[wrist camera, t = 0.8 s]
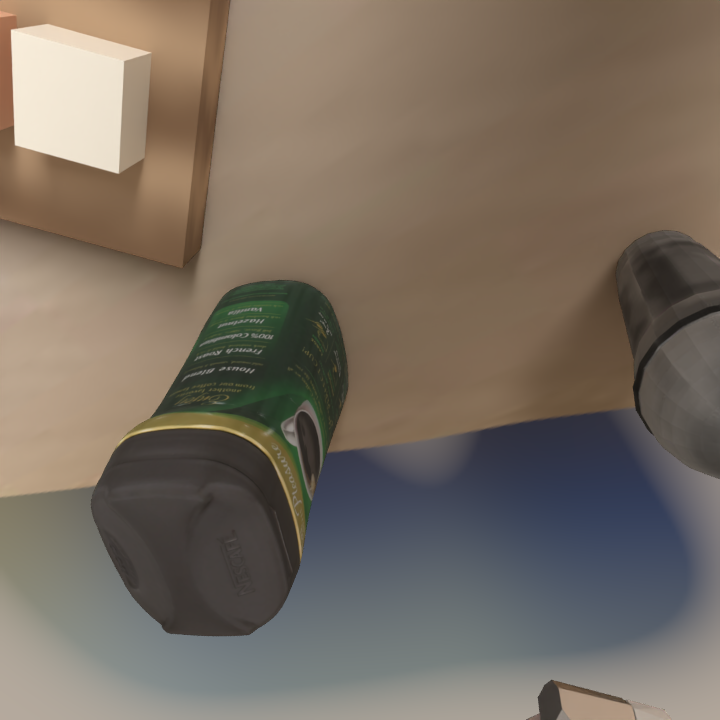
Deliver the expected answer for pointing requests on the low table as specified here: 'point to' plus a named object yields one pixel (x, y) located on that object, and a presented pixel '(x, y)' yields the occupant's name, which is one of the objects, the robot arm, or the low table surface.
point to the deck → (163, 134)
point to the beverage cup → (675, 343)
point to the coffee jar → (228, 464)
